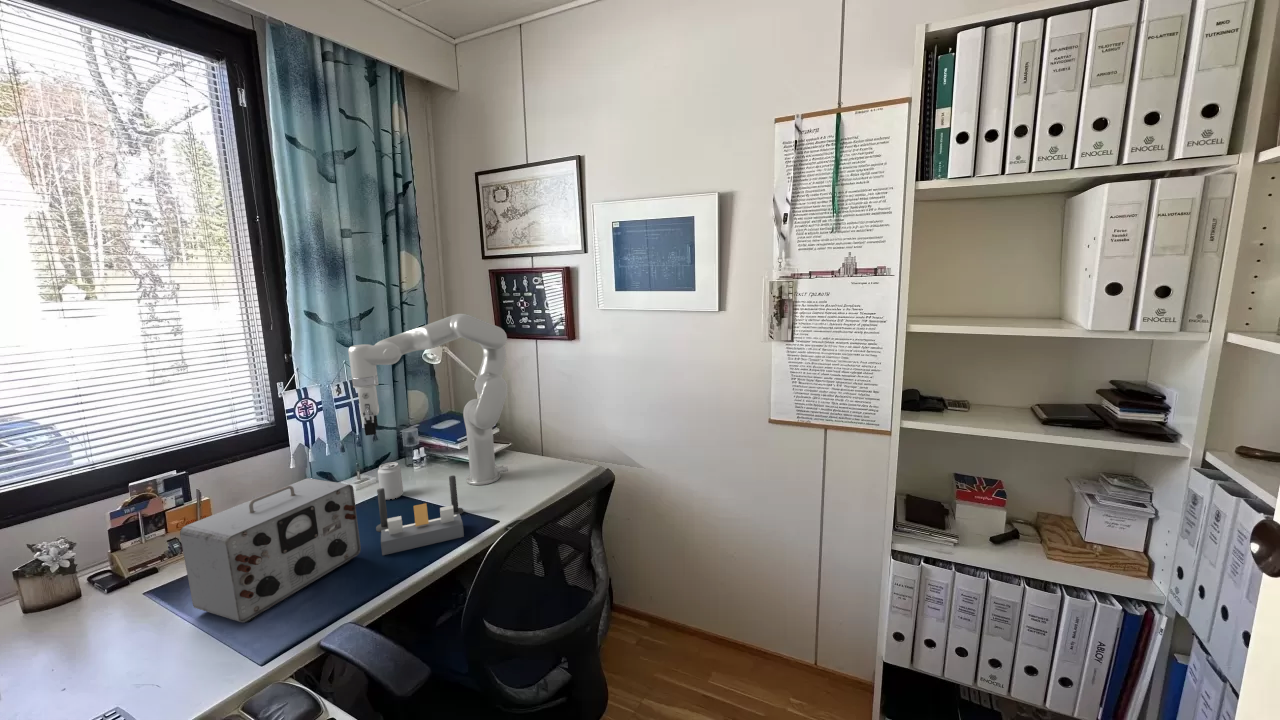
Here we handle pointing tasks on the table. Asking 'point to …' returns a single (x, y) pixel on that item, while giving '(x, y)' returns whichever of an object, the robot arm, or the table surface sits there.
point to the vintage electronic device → (269, 547)
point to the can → (390, 480)
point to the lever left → (395, 525)
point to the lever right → (447, 514)
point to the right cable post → (454, 495)
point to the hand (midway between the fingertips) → (371, 430)
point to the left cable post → (382, 510)
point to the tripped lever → (421, 514)
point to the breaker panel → (421, 535)
